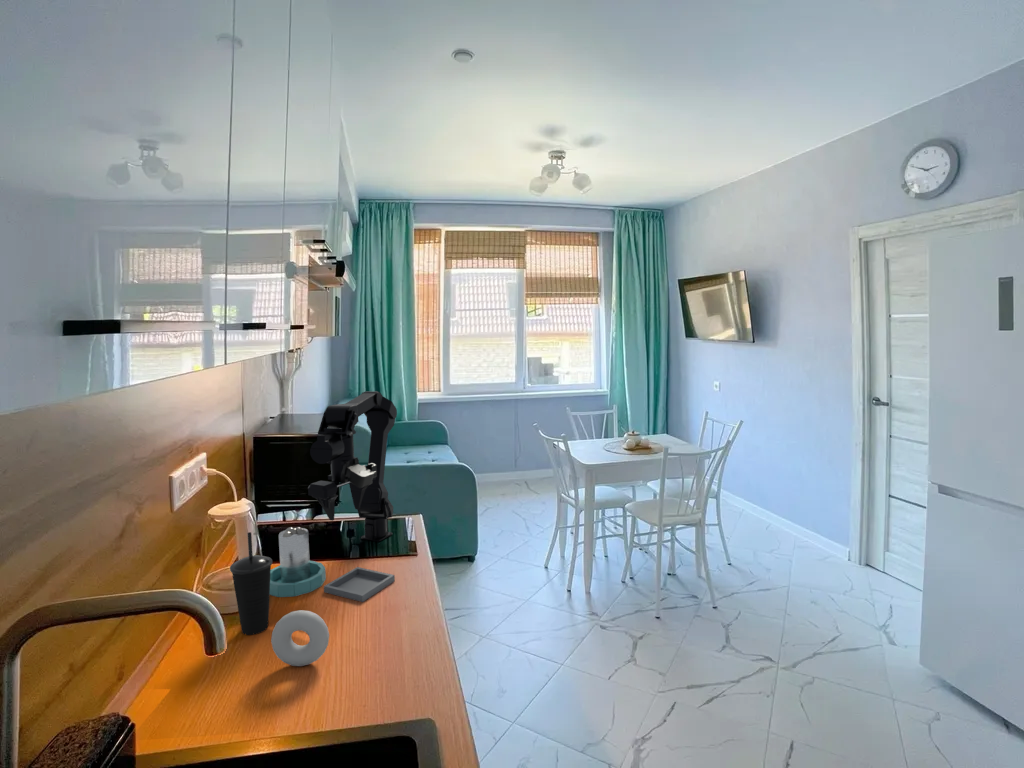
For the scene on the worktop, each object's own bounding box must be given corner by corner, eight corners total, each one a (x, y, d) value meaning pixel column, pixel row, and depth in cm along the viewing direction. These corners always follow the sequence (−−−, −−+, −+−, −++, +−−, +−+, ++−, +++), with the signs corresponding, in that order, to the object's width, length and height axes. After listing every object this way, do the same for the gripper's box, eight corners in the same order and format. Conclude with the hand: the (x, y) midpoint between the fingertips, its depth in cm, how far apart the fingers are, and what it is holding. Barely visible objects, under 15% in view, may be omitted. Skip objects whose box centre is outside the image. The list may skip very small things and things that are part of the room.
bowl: (297, 570, 138) (296, 557, 138) (336, 580, 132) (336, 566, 132) (253, 593, 126) (252, 578, 126) (294, 604, 121) (293, 589, 120)
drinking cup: (265, 639, 107) (259, 539, 105) (226, 639, 107) (219, 540, 105) (282, 618, 115) (276, 525, 113) (246, 618, 115) (240, 526, 113)
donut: (332, 657, 101) (330, 605, 100) (327, 668, 97) (325, 614, 97) (276, 660, 100) (273, 607, 99) (269, 672, 97) (266, 617, 96)
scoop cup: (305, 573, 134) (303, 521, 133) (314, 583, 129) (311, 529, 127) (278, 581, 130) (275, 527, 129) (285, 591, 125) (282, 535, 124)
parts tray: (357, 575, 135) (357, 566, 135) (394, 583, 130) (394, 575, 130) (324, 595, 125) (323, 586, 125) (362, 605, 120) (362, 595, 120)
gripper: (340, 465, 127) (343, 531, 129) (391, 449, 144) (393, 507, 146) (304, 461, 132) (308, 524, 134) (357, 446, 149) (360, 502, 150)
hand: (344, 514), depth 141 cm, fingers open, 9 cm apart
